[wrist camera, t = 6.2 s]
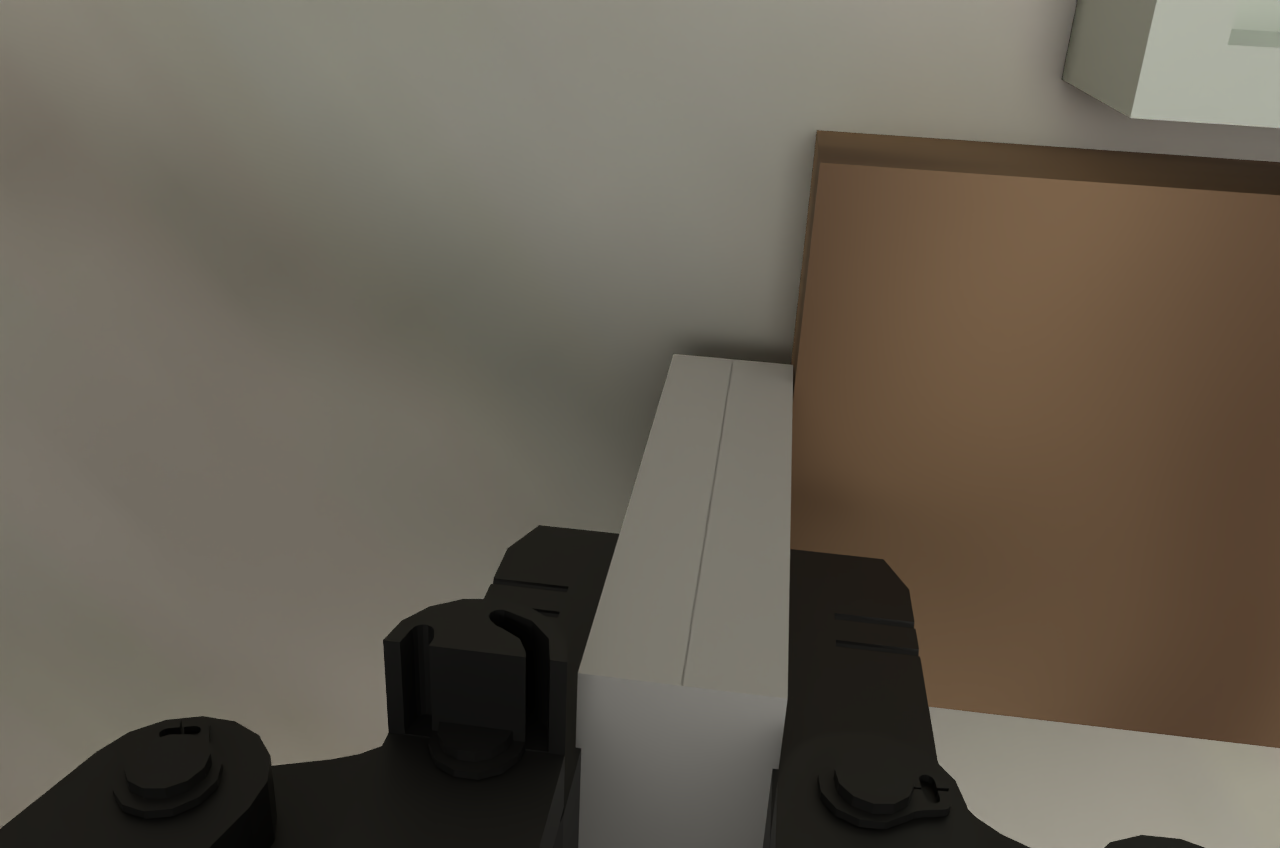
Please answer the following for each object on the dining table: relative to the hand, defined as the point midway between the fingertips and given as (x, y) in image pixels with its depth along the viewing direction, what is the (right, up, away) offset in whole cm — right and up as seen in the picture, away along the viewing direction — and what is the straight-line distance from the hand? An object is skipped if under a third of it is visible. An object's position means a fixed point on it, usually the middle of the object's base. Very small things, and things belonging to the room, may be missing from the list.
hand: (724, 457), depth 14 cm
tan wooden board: (+6, +1, +1) cm, 6 cm away
